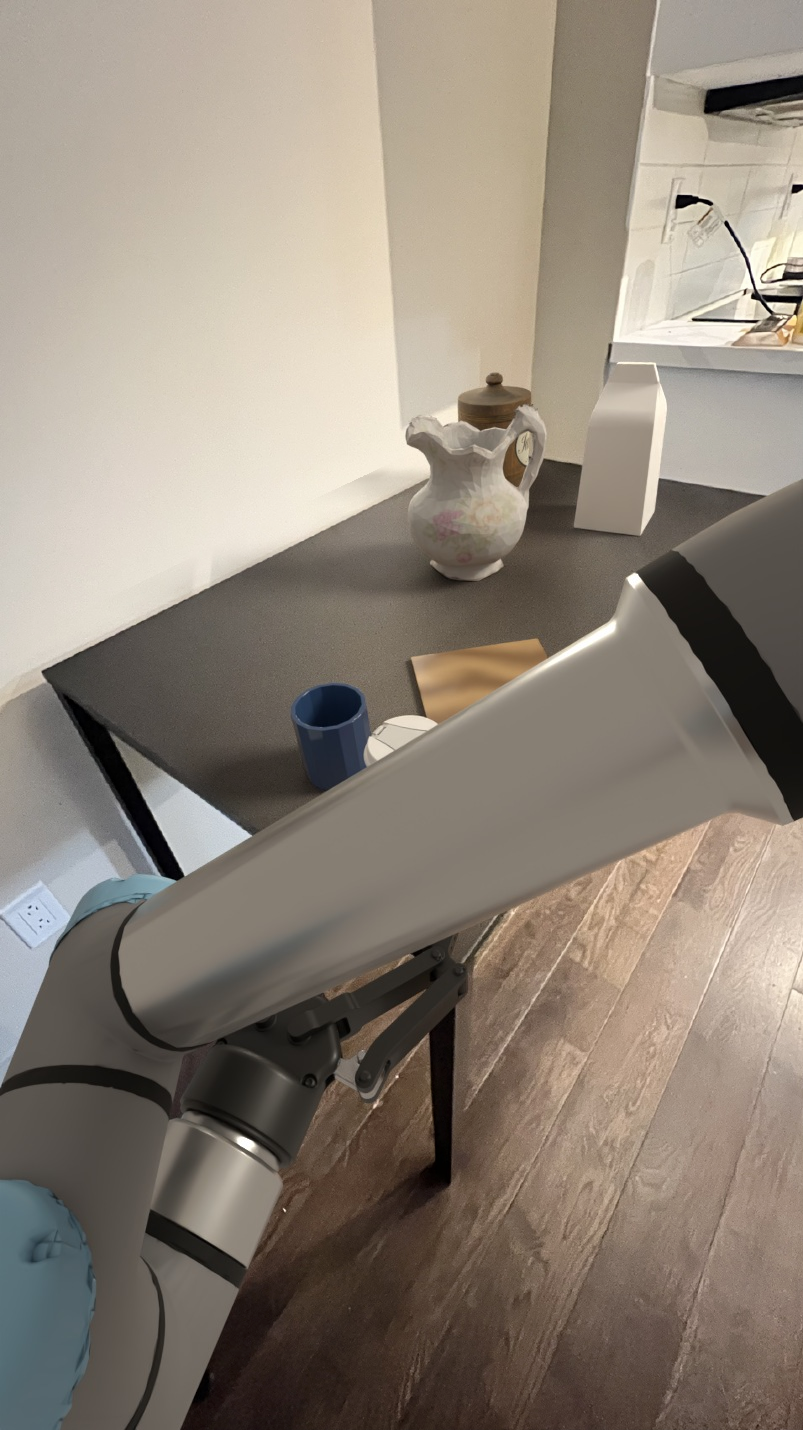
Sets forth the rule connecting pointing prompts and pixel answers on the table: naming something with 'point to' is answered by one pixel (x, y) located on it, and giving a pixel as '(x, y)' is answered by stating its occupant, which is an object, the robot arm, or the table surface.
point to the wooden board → (470, 674)
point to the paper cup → (394, 736)
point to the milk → (623, 452)
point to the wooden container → (498, 419)
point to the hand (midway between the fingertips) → (374, 855)
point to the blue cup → (331, 732)
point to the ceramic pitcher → (471, 493)
